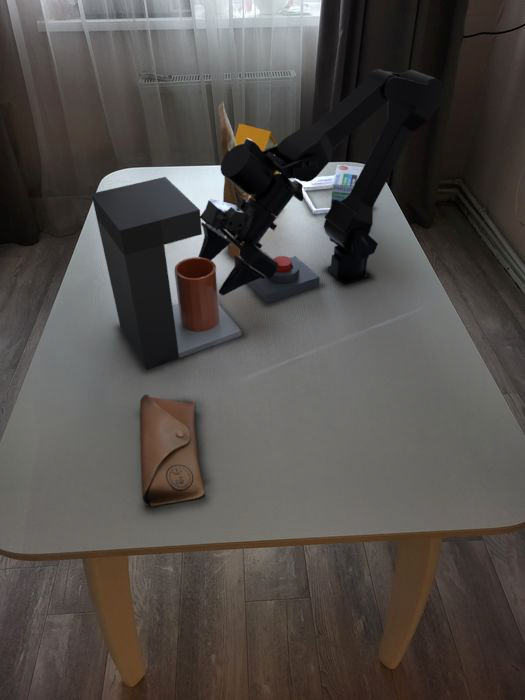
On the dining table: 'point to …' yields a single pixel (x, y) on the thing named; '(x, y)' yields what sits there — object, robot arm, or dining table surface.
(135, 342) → the coffee maker
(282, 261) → the button
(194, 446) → the sunglasses case
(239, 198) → the pancake mix bag
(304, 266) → the pad
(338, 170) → the light bulb box
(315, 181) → the photo frame
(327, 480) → the dining table surface
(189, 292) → the tumbler
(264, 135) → the orange juice
